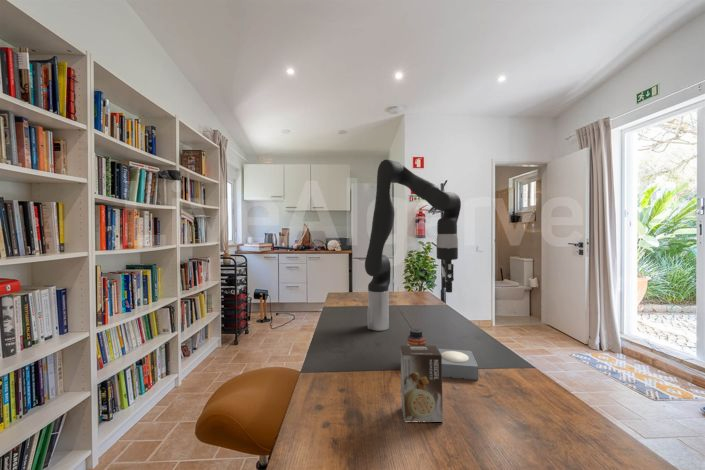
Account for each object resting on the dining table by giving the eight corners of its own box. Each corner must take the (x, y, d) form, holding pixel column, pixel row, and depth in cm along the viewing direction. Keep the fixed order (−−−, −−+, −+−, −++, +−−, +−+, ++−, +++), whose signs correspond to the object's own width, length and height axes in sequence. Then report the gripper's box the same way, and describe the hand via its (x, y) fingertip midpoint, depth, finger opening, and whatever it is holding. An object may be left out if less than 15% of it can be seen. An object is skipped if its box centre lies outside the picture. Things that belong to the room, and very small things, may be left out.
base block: (436, 376, 94) (436, 362, 94) (434, 359, 106) (434, 347, 106) (478, 379, 92) (478, 365, 92) (471, 362, 104) (471, 350, 104)
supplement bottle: (426, 361, 105) (426, 328, 105) (424, 368, 100) (424, 333, 100) (409, 358, 107) (408, 326, 107) (406, 366, 102) (406, 332, 101)
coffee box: (437, 408, 78) (437, 344, 78) (443, 424, 72) (443, 355, 71) (400, 407, 78) (400, 344, 78) (403, 423, 72) (403, 354, 72)
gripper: (434, 245, 122) (434, 286, 122) (438, 247, 108) (438, 293, 108) (454, 245, 121) (454, 286, 121) (461, 247, 107) (461, 294, 107)
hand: (447, 289), depth 115 cm, fingers open, 8 cm apart
